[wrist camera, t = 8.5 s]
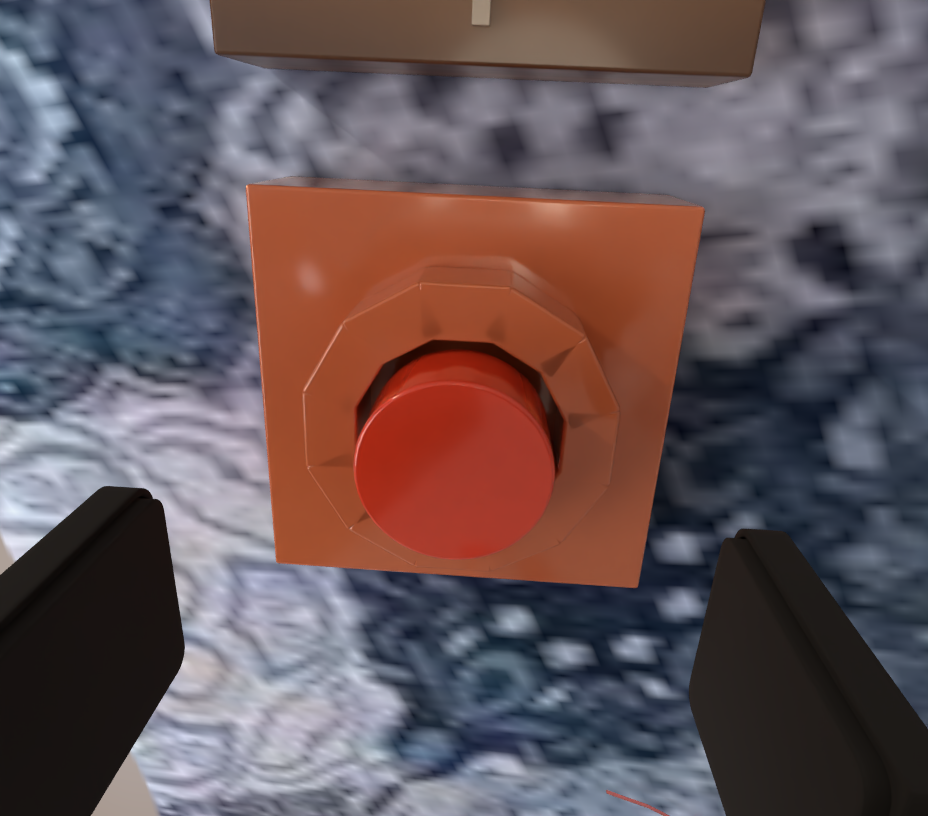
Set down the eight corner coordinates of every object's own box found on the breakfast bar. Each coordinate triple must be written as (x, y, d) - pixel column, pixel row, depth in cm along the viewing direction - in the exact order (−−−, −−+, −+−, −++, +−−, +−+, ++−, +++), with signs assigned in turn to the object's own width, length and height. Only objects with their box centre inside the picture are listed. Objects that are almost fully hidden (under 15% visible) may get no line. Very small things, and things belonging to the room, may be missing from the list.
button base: (619, 525, 21) (652, 636, 16) (306, 504, 21) (252, 607, 16) (671, 194, 17) (735, 216, 12) (288, 175, 17) (209, 189, 13)
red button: (540, 515, 15) (545, 567, 14) (372, 504, 16) (353, 555, 14) (557, 353, 14) (566, 387, 12) (370, 342, 14) (349, 374, 12)
